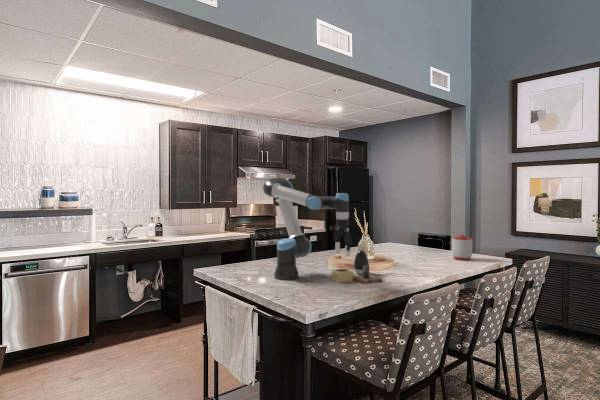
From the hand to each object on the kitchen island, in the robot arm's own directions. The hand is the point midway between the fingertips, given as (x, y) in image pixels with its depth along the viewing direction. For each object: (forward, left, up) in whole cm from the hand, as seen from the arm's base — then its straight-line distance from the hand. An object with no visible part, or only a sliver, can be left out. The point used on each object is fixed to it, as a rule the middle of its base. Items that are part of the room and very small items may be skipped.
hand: (342, 254), depth 218 cm
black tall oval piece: (+20, +13, -16) cm, 29 cm away
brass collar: (0, 0, -16) cm, 16 cm away
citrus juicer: (+121, +34, -16) cm, 127 cm away
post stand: (+14, -4, -16) cm, 21 cm away
